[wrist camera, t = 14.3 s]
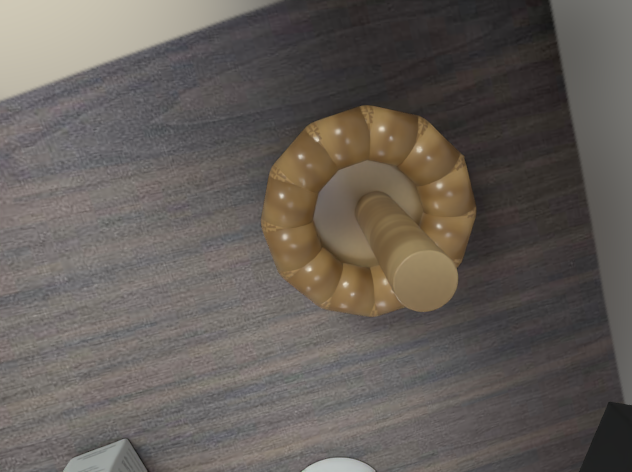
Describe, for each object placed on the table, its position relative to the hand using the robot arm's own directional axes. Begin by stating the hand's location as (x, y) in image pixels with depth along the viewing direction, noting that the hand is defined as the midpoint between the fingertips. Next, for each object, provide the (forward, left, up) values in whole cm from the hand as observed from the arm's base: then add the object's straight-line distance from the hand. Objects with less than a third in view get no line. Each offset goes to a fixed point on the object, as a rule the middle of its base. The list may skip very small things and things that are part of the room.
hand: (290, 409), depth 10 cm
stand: (0, +5, -23) cm, 23 cm away
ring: (0, +5, -20) cm, 20 cm away
